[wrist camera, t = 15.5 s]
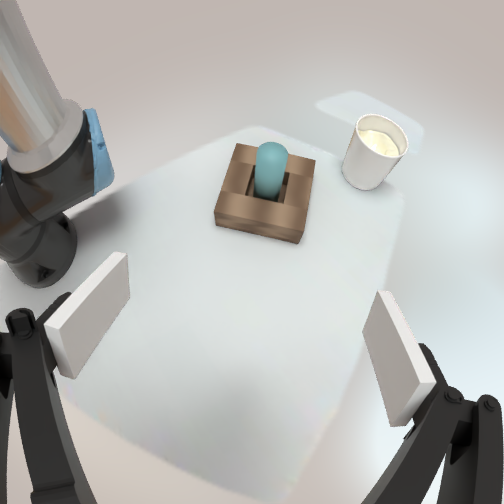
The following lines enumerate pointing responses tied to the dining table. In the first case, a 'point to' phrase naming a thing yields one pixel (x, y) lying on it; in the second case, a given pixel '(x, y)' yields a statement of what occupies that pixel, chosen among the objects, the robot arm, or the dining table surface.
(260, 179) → the teal peg
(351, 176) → the candle holder
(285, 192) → the walnut block
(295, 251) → the dining table surface
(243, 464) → the dining table surface
